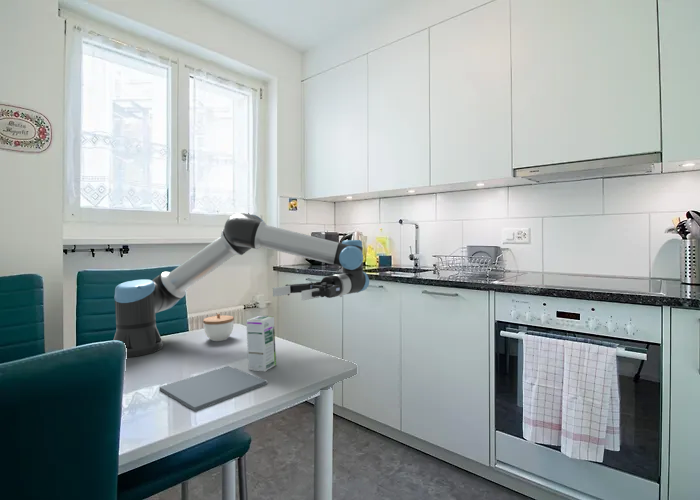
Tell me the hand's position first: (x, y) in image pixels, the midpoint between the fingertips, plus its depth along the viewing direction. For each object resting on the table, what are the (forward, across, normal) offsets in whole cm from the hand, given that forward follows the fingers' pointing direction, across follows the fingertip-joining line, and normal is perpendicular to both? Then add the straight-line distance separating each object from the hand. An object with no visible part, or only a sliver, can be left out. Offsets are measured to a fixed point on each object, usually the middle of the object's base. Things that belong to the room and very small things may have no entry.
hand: (287, 293), depth 114 cm
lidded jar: (+1, +39, -20) cm, 44 cm away
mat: (+26, -2, -20) cm, 33 cm away
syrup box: (+10, 0, -20) cm, 22 cm away
